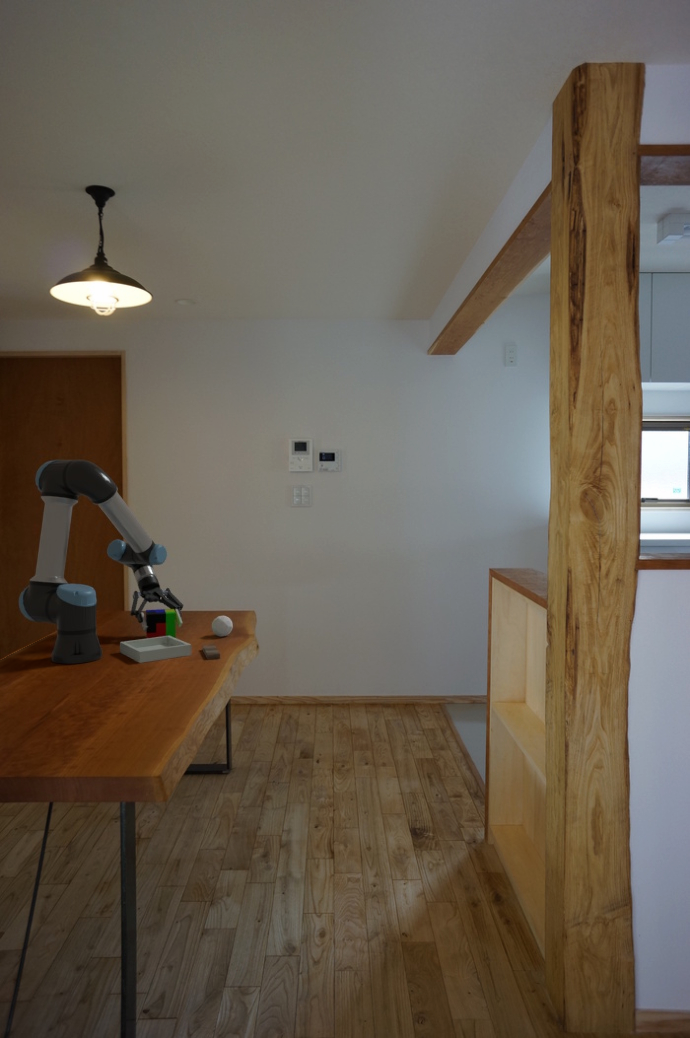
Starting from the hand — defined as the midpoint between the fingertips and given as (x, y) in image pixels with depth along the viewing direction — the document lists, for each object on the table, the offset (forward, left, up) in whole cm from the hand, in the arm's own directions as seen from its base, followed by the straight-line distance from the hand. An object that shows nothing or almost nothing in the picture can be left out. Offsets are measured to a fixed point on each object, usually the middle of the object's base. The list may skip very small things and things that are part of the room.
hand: (163, 627), depth 243 cm
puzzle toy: (+1, +2, -5) cm, 5 cm away
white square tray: (-19, -11, -5) cm, 22 cm away
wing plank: (-12, -28, -5) cm, 31 cm away
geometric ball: (+14, -16, -5) cm, 22 cm away
